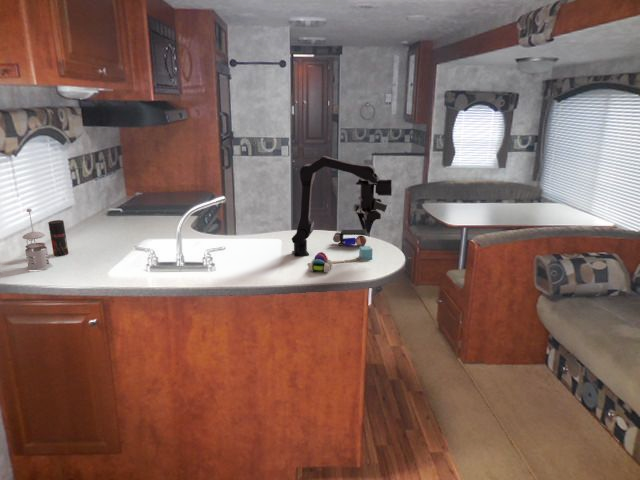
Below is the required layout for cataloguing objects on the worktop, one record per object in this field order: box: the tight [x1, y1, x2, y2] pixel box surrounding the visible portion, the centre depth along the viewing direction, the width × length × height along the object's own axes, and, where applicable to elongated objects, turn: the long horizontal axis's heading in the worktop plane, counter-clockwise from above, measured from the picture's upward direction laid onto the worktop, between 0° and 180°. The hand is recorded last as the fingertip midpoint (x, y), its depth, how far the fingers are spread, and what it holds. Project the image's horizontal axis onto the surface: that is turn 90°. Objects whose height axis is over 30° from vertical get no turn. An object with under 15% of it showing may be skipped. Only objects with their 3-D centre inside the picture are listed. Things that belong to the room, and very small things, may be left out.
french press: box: [21, 208, 53, 271], centre depth 204 cm, size 10×12×25 cm
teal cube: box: [358, 245, 373, 261], centre depth 216 cm, size 4×4×4 cm
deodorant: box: [48, 219, 69, 257], centre depth 221 cm, size 6×6×15 cm
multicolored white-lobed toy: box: [308, 251, 333, 274], centre depth 201 cm, size 8×10×7 cm
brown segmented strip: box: [307, 258, 363, 266], centre depth 211 cm, size 2×23×1 cm, turn 104°
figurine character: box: [332, 229, 367, 247], centre depth 233 cm, size 7×8×15 cm
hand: (366, 230), depth 213 cm, fingers open, 5 cm apart
